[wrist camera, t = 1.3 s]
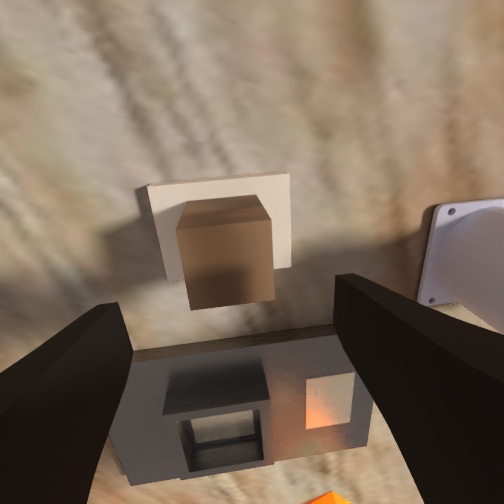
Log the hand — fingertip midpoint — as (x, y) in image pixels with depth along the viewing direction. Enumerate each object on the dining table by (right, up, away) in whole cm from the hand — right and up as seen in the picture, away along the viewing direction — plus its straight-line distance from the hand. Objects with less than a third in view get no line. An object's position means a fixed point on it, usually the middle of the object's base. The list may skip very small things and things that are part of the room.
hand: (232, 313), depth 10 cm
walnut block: (-1, +3, +8) cm, 8 cm away
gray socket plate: (0, -11, +15) cm, 19 cm away
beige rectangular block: (-1, +4, +9) cm, 9 cm away
